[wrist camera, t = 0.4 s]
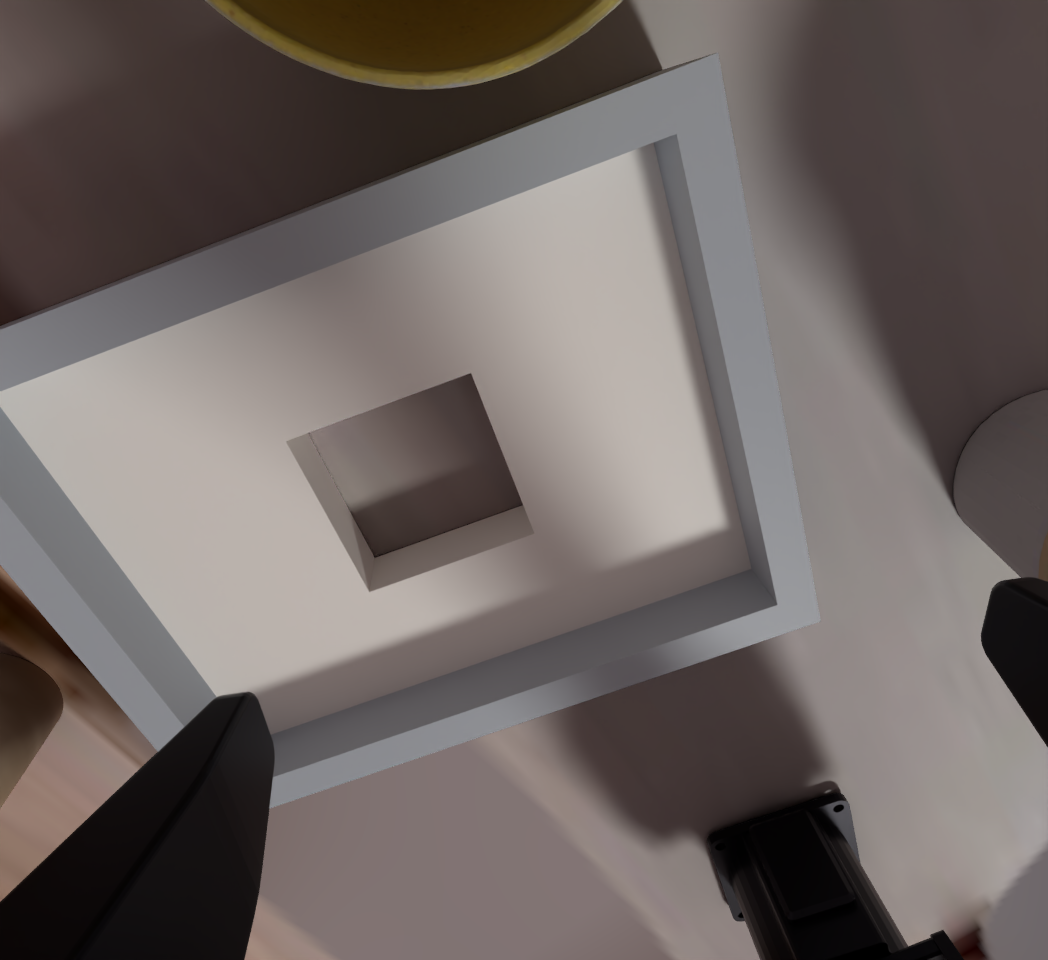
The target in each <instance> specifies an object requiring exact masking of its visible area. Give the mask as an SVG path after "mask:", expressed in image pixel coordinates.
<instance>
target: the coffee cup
mask: <svg viewBox="0 0 1048 960" xmlns="http://www.w3.org/2000/svg"><path fill="white" fill-rule="evenodd" d="M954 501H955V505H956V509H957V511H958V513H959V515H960V517H961V519H962V521H963V522H964V523H965V524H966V525H967V526H968V527H969V528H970V529H971V530H972V531H973V532H974V533H975V534H976V535H977V536H978V537H979V538H980V539H981V540H982V541H983V542H985V543H986V544H987V545H988V546H989V547H990V548H991V549H992V550H993V551H994V552H995V553H996V554H997V555H998V556H999V557H1000V558H1001V559H1002V560H1003V561H1004V562H1005V563H1006V564H1007V565H1009V566H1010V567H1011V568H1012V569H1013V570H1014V571H1015V572H1016V573H1017V574H1018V575H1019V576H1020V577H1021V578H1024V577H1035V578H1039V579H1042V580H1045V581H1048V390H1042V391H1039V392H1036V393H1032V394H1029V395H1026V396H1024V397H1021V398H1019V399H1017V400H1015V401H1013V402H1011V403H1009V404H1007V405H1006V406H1004V407H1003V408H1001V409H999V410H998V411H996V412H995V413H993V414H992V415H991V416H990V417H989V418H988V419H987V420H986V421H984V422H983V423H982V424H981V425H980V426H979V427H978V429H977V430H976V431H975V432H974V434H973V435H972V436H971V438H970V439H969V441H968V442H967V444H966V446H965V448H964V450H963V452H962V453H961V456H960V459H959V462H958V465H957V468H956V472H955V478H954Z"/></svg>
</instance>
